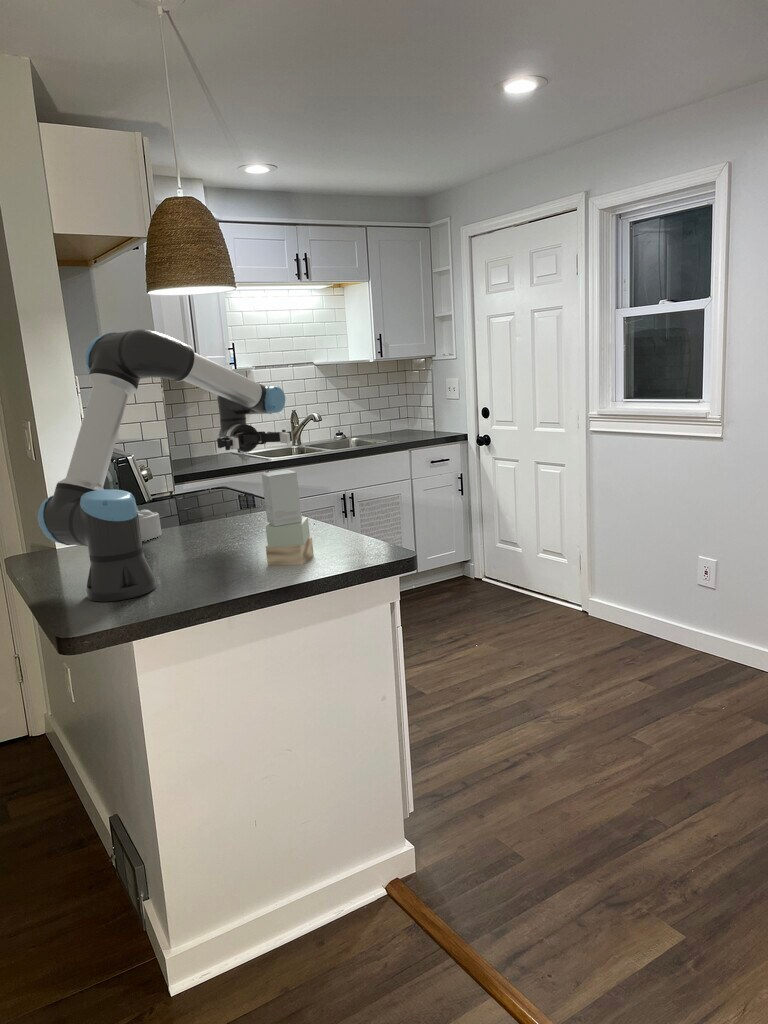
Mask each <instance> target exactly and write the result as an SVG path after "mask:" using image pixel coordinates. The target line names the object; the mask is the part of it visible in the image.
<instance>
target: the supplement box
mask: <svg viewBox="0 0 768 1024" xmlns="http://www.w3.org/2000/svg"><path fill="white" fill-rule="evenodd" d="M261 482H262V489H263V496H264V497H263V498H264V503H265V504H264V505H265V513H266V515H265V516H266V522H268V524H269V523H270V524H272V525H273V526H280V525H286V524H293V523H299V522H302V518H303V517H302V510H301V500H300V499H301V498H300V493H299V492H300V491H299V485H298V474H297V472H296V471H293V470H291V469H283V470H282V469H281V470H276V471H275V470H274V471H270V472H264V473H263V472H262V473H261Z"/></svg>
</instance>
